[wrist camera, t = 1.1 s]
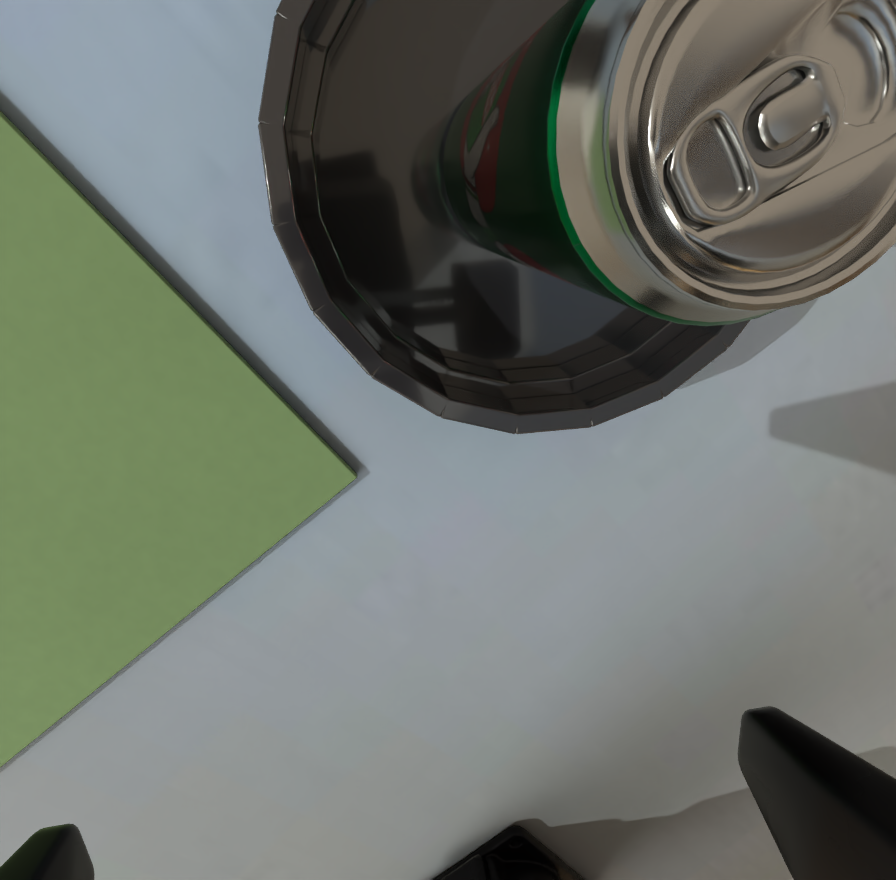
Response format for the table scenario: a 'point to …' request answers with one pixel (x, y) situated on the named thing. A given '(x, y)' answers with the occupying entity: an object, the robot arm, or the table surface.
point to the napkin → (119, 451)
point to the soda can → (688, 152)
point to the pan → (437, 226)
